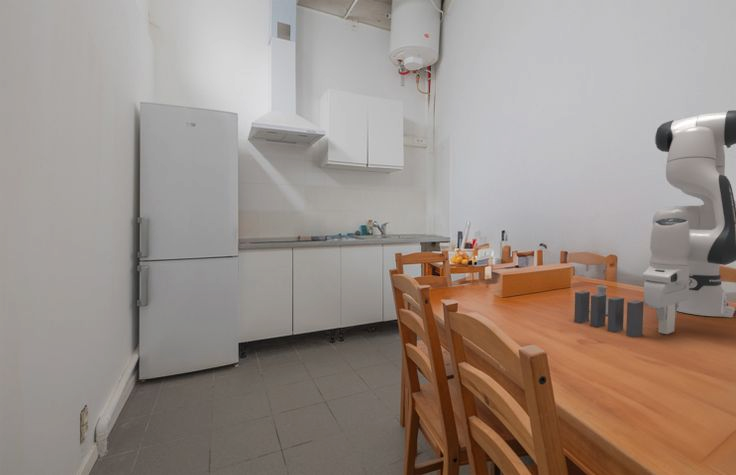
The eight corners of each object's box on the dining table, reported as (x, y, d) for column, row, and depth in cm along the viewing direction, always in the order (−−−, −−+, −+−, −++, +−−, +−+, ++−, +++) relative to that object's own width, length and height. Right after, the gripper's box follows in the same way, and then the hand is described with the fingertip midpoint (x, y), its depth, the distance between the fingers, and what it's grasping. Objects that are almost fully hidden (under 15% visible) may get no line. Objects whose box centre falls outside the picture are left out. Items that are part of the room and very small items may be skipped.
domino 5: (658, 332, 99) (659, 299, 98) (665, 329, 101) (667, 297, 101) (666, 334, 97) (668, 301, 97) (674, 331, 100) (675, 298, 99)
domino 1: (574, 321, 111) (575, 292, 110) (582, 319, 113) (583, 290, 113) (580, 323, 109) (581, 293, 108) (588, 321, 111) (589, 291, 111)
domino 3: (607, 330, 102) (608, 298, 101) (615, 327, 104) (616, 296, 104) (614, 332, 100) (615, 300, 100) (623, 329, 103) (624, 298, 102)
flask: (617, 316, 116) (618, 288, 116) (594, 315, 118) (595, 288, 117) (606, 311, 123) (607, 284, 123) (585, 310, 125) (586, 284, 124)
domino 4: (626, 335, 98) (627, 302, 97) (634, 332, 100) (635, 300, 99) (634, 337, 96) (635, 303, 95) (642, 334, 98) (643, 301, 98)
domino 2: (590, 326, 106) (591, 295, 106) (598, 323, 109) (599, 293, 108) (596, 327, 105) (597, 296, 104) (605, 325, 107) (606, 294, 106)
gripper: (670, 268, 106) (669, 310, 107) (639, 274, 96) (637, 320, 97) (697, 271, 100) (695, 315, 101) (666, 277, 91) (664, 327, 92)
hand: (666, 318), depth 99 cm, fingers closed on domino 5, 5 cm apart
